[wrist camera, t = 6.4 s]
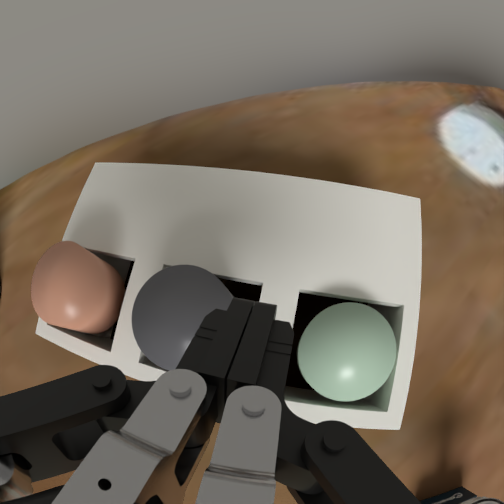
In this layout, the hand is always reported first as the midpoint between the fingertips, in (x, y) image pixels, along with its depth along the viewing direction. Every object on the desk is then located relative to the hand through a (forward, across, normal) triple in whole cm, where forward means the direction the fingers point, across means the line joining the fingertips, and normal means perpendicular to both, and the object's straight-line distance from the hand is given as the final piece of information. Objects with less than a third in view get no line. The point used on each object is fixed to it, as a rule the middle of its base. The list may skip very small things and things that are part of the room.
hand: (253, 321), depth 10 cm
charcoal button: (+4, +4, +5) cm, 7 cm away
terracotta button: (+4, +12, +5) cm, 13 cm away
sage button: (+6, -4, +6) cm, 9 cm away
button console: (+12, +3, +8) cm, 15 cm away
